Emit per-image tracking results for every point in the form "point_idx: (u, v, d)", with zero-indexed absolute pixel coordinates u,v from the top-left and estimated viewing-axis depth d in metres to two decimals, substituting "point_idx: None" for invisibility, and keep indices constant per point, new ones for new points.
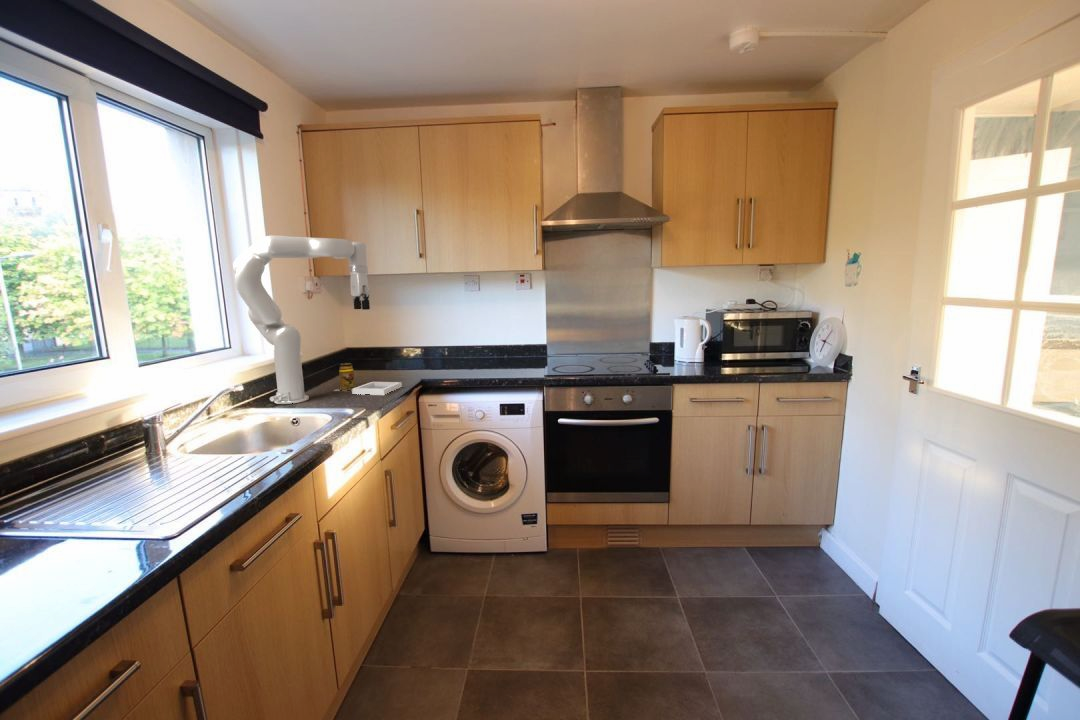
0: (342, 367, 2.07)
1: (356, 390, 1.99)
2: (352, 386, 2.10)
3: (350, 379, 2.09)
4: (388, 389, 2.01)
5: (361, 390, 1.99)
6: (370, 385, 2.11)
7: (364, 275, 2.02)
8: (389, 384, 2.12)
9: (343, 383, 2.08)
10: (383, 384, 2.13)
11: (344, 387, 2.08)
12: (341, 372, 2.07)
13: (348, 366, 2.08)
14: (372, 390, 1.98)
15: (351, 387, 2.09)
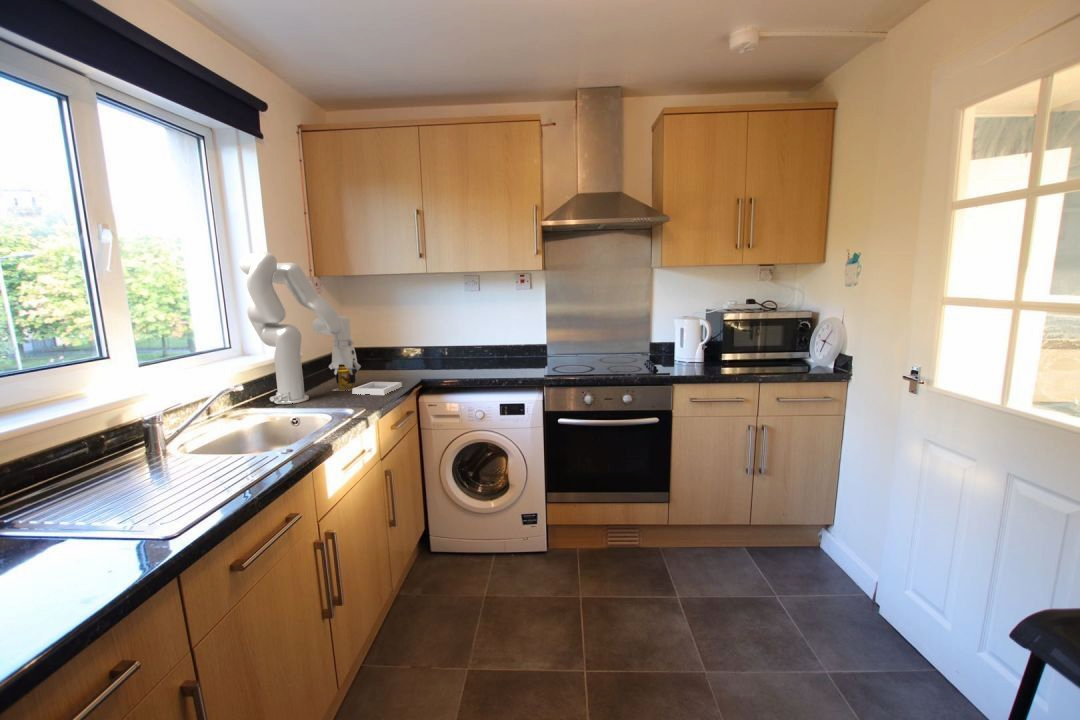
0: (340, 366, 2.07)
1: (356, 390, 1.99)
2: (350, 386, 2.10)
3: (348, 378, 2.09)
4: (388, 389, 2.01)
5: (361, 390, 1.99)
6: (370, 385, 2.11)
7: None
8: (389, 384, 2.12)
9: (342, 382, 2.08)
10: (383, 384, 2.13)
11: (342, 387, 2.08)
12: (339, 372, 2.08)
13: None
14: (372, 390, 1.98)
15: (349, 387, 2.10)
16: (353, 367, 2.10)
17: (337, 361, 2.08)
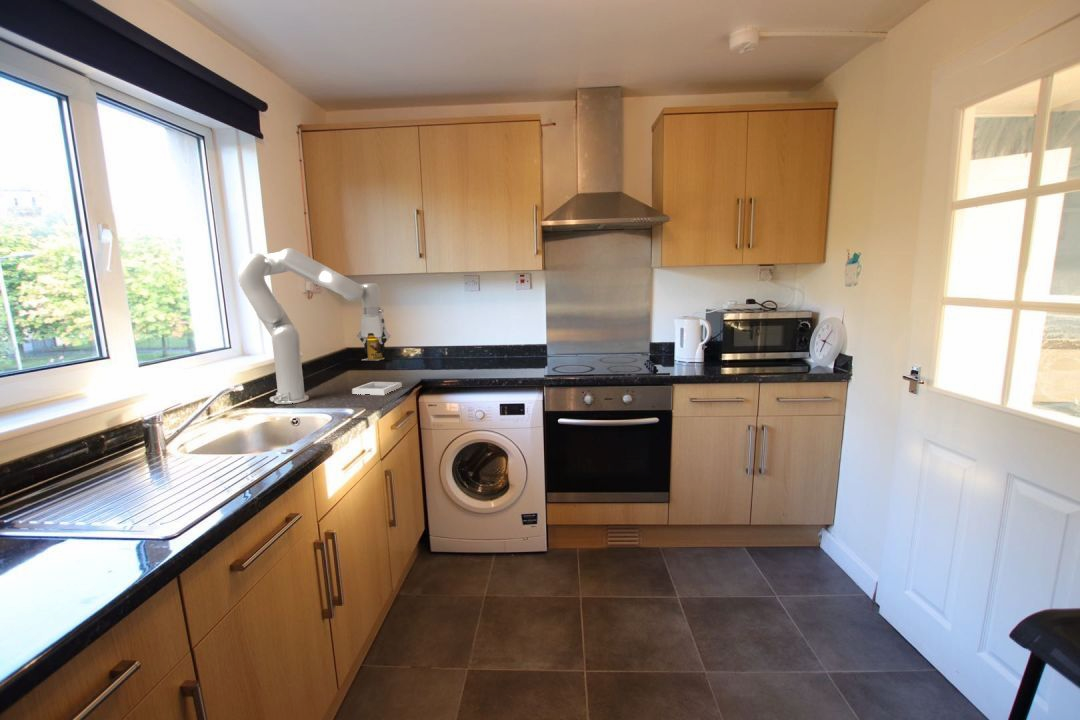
0: (370, 335, 2.00)
1: (356, 390, 1.99)
2: (380, 356, 2.03)
3: (378, 348, 2.02)
4: (388, 389, 2.01)
5: (361, 390, 1.99)
6: (370, 385, 2.11)
7: None
8: (389, 384, 2.12)
9: (371, 352, 2.01)
10: (383, 384, 2.13)
11: (372, 356, 2.01)
12: (369, 341, 2.00)
13: None
14: (372, 390, 1.98)
15: (379, 357, 2.02)
16: (382, 336, 2.03)
17: (367, 329, 2.00)
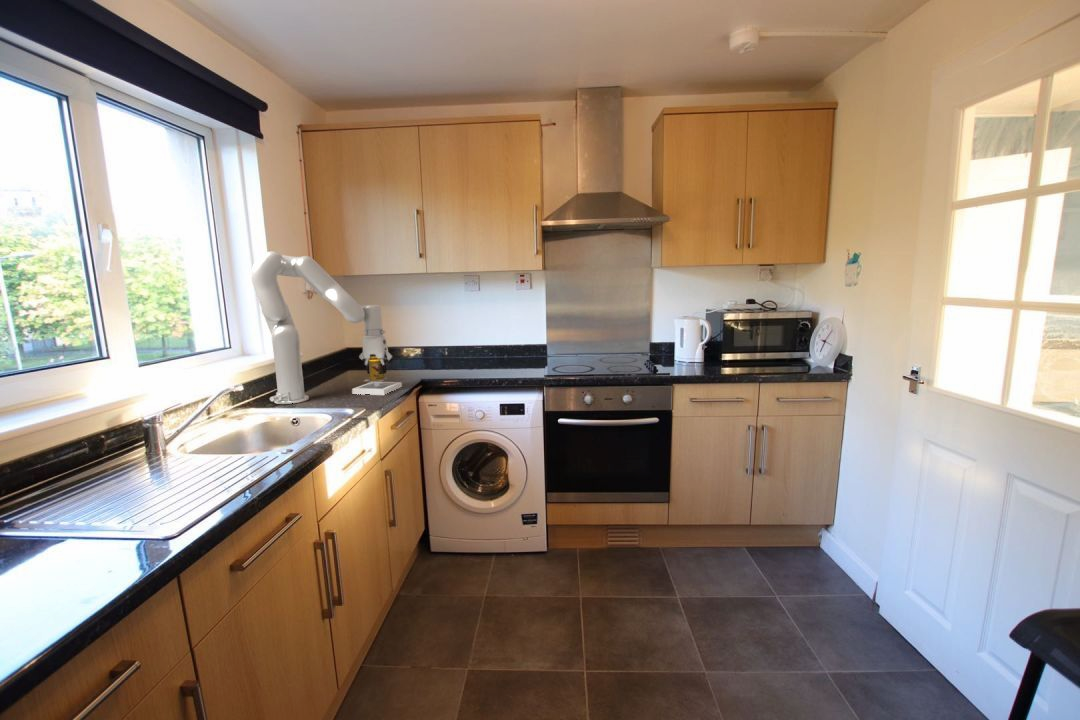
0: (372, 356, 2.02)
1: (356, 390, 1.99)
2: (382, 376, 2.04)
3: (380, 369, 2.03)
4: (388, 389, 2.01)
5: (361, 390, 1.99)
6: (370, 385, 2.11)
7: None
8: (389, 384, 2.12)
9: (373, 373, 2.02)
10: (383, 384, 2.13)
11: (374, 377, 2.02)
12: (371, 362, 2.02)
13: None
14: (372, 390, 1.98)
15: (381, 377, 2.04)
16: (384, 357, 2.05)
17: (369, 351, 2.02)
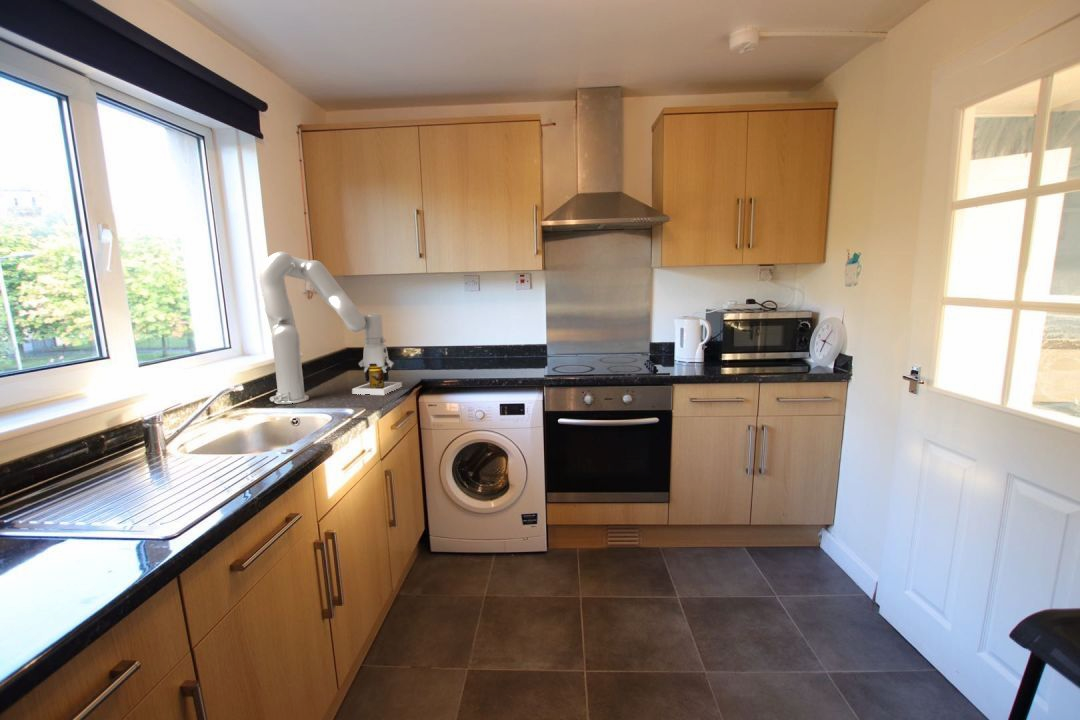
0: (372, 366, 2.02)
1: (356, 390, 1.99)
2: (382, 386, 2.05)
3: (380, 378, 2.03)
4: (388, 389, 2.01)
5: (361, 390, 1.99)
6: None
7: None
8: (389, 384, 2.12)
9: (373, 382, 2.03)
10: None
11: (374, 387, 2.03)
12: (371, 371, 2.02)
13: None
14: (372, 390, 1.98)
15: (381, 387, 2.04)
16: (385, 365, 2.05)
17: (369, 359, 2.02)
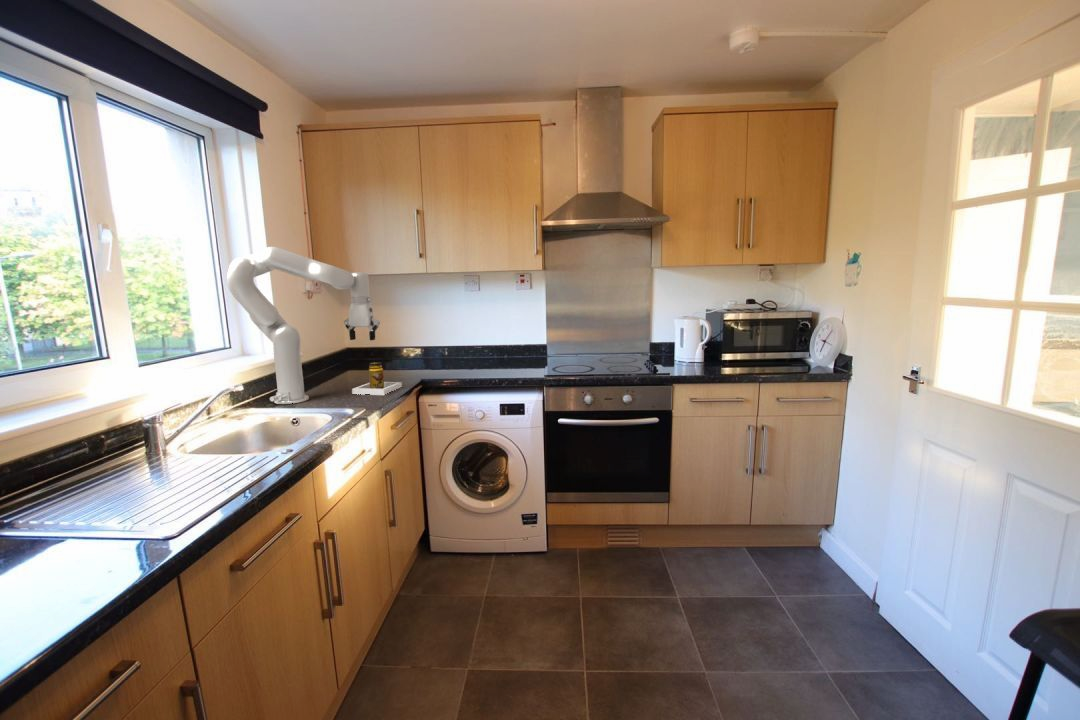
0: (372, 366, 2.02)
1: (356, 390, 1.99)
2: (382, 386, 2.05)
3: (380, 378, 2.03)
4: (388, 389, 2.01)
5: (361, 390, 1.99)
6: None
7: None
8: (389, 384, 2.12)
9: (373, 382, 2.03)
10: None
11: (374, 387, 2.03)
12: (371, 371, 2.02)
13: (378, 365, 2.03)
14: (372, 390, 1.98)
15: (381, 387, 2.04)
16: (372, 324, 2.04)
17: (355, 318, 2.01)
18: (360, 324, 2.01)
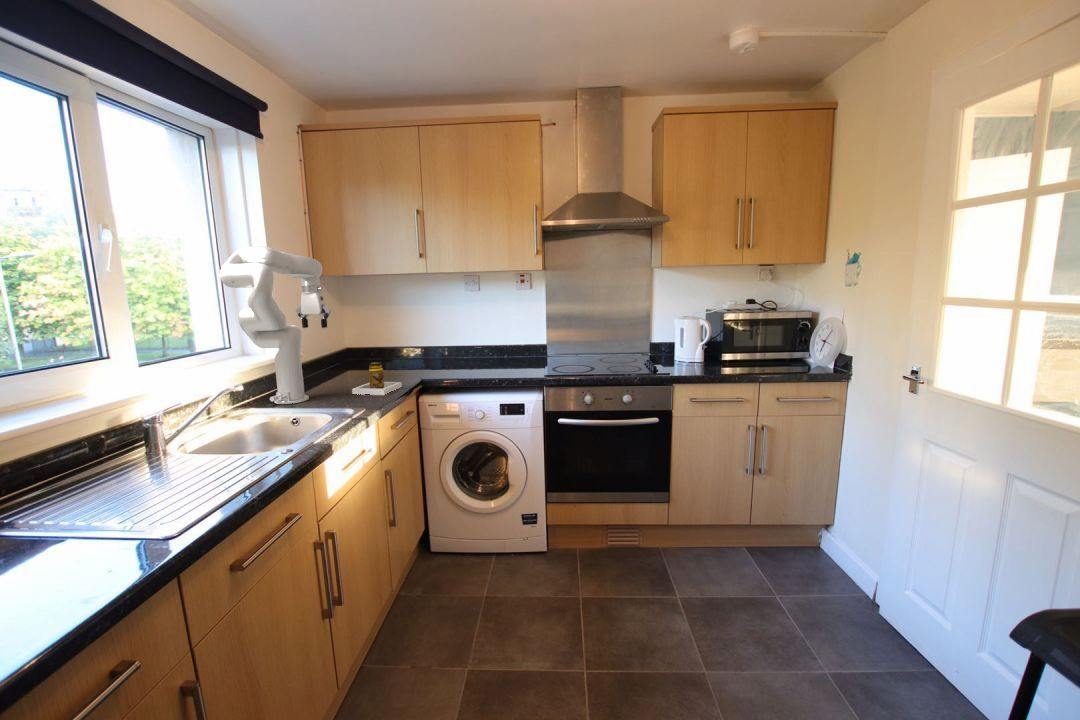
0: (372, 366, 2.02)
1: (356, 390, 1.99)
2: (382, 386, 2.05)
3: (380, 378, 2.03)
4: (388, 389, 2.01)
5: (361, 390, 1.99)
6: None
7: None
8: (389, 384, 2.12)
9: (373, 382, 2.03)
10: None
11: (374, 387, 2.03)
12: (371, 371, 2.02)
13: (378, 365, 2.03)
14: (372, 390, 1.98)
15: (381, 387, 2.04)
16: (323, 312, 2.10)
17: (306, 307, 2.08)
18: (311, 312, 2.08)
